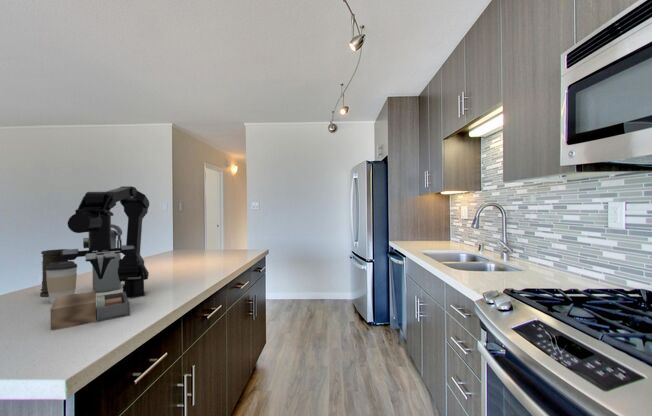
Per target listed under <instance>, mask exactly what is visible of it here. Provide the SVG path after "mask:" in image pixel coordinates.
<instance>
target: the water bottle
mask: <svg viewBox="0 0 652 416" xmlns="http://www.w3.org/2000/svg"><path fill="white" fill-rule="evenodd" d="M122 235H123V231H122V229H121V227H120V226H119V225H116V224H112V223H111V248H120V246H121V245H122V244H123V243H122V242H123V241H122V238H121V236H122ZM103 251H105V250H103ZM103 256H104V255H97V256H96V257H98V263H99V268H100V274H101V268H102V261H103ZM114 256H115V259H111V260H110V262H109V264H108V266H107V268H106V270H105V273H104V276H103V278H102V279H99V278H98V275H97V273H96V271H95V269H94V267H93V266H92V291H96V293H105V292H112V291H116V290H118V289H120V288H121V287H122V282H120V281H119V276H118V267H119V260H120V259H122V258H121V257H122V256H121V253H117V254H115V255H114Z"/></svg>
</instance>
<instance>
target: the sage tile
mask: <svg viewBox="0 0 652 416" xmlns="http://www.w3.org/2000/svg"><path fill="white" fill-rule="evenodd" d="M97 296H98V297H97ZM97 296H96V309H97V308H100V307H105V296H101V295H97Z"/></svg>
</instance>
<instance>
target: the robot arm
mask: <svg viewBox="0 0 652 416" xmlns="http://www.w3.org/2000/svg"><path fill="white" fill-rule="evenodd" d="M149 200H150V199H148V198H147V195H146V194H144V193H143V192H141V191H139V190H137V188H136V187H134V186H130V185H129V186H120V187H118V188H114V189H110V190H107V191H87V192H85V193H84V196H83V197H82V198H81V201H80V203H79V206H78V207H77V209H75V210H74V211H75V213H74V214H72V215H71V216H70V217H69V218H68V221H67V227H68V229H69V230H70V231H71V232H72V233H75V234H83V233H88V237H83V241H82V242H83V243H82V245H83V249H87V250H79V248H71V249H69V248H67V249H68V250H63V251H62V252H61V253H60V261H67V260H68V261H75V260H76V259H77V258H80V257H82V258H83V257H84V258H85V262H90V264H91V265H92V266H93V267H94V269H95V271H96V273H97V275H98V278H99V279H102V278H103V276H104V273H105V270H106V268H107V266H108V264H109V262H110V260H111V259H115V256H114V255H115V254H117V253H119V254H122V255H123V257H122V258H121V259H120V260H119V267H118V276H119V281H120V282H121V283H122V282H124V283H123V284H122V292H126V295H127V298H128V299H130V298H137V297H144V296H145V295H146V293H145V281H146V280H148V279H149V273H150V272H149V271H148V269H147V267H146V266H145V260H144V258H143V257H142V255H141V247H142V246H141V245H142V243H141V241H142V231H143V228H142V227H143V219H144V218H145V216H146V215H147V214H148V211H149V207H150V201H149ZM117 202H119V203H120V205H121V206H122V207H123V212H124V213H125V215H126V217H127V230H126V243H125V244H123V245H121V246H120V245H119V248H117V247H116V248H111V230H112V228H111V224H112V217H113V216H114V213H113V212H112V211H111V210H112V209H113V208H115V206H116V205H117ZM103 250H105V251H103ZM97 255H104V256H103V261H102V268H101V274H100V268H99V263H98V257H96V256H97Z"/></svg>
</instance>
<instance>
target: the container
mask: <svg viewBox="0 0 652 416" xmlns="http://www.w3.org/2000/svg"><path fill="white" fill-rule="evenodd" d="M68 249H69V248H64V249H63V248H61V249H60V248H59V249H49V250H48V249H47V250H42V251H41V252H40V254H41V257H42V261H41V265H42V266H41V267H42V272H41V273H42V279H41V280H42V281H41V289H40V291H41V292H40V294H39V295H40V297H43V298H49V293H48V288H47V280H46V276H47V274H46V270H45V269H46V267H47V266H49V264H50V263H54V262H62V261H60V253H61V252H62V251H63V250H68ZM67 261H69V260H67Z"/></svg>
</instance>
